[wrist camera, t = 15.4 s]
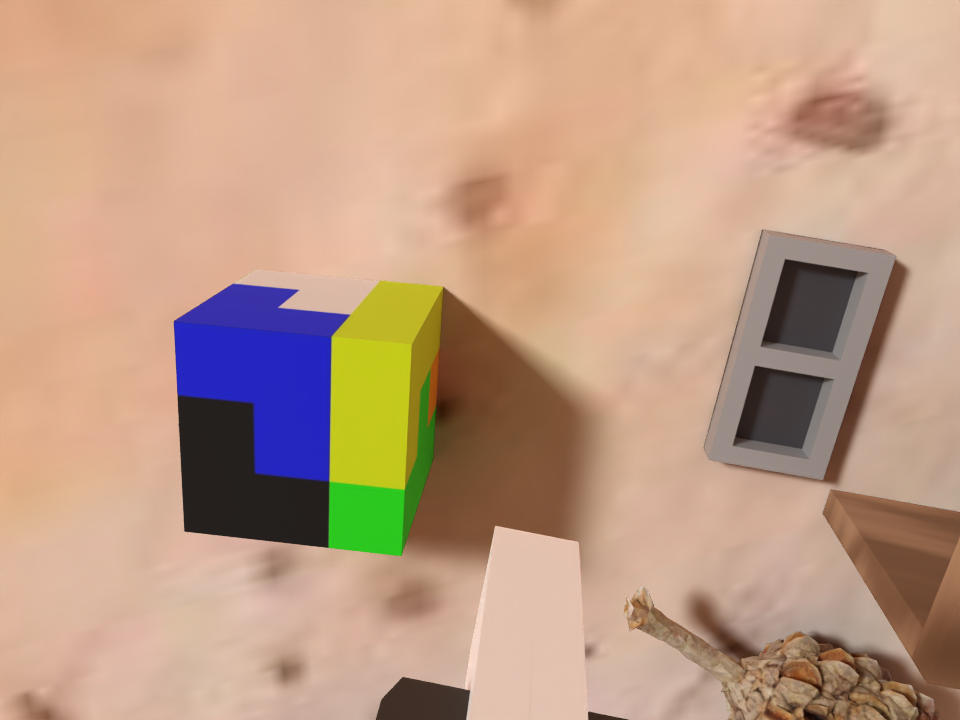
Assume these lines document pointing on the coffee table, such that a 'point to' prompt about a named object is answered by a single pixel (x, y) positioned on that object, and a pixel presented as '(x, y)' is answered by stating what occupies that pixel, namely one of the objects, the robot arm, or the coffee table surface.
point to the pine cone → (790, 676)
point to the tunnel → (908, 573)
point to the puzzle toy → (308, 409)
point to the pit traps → (796, 353)
